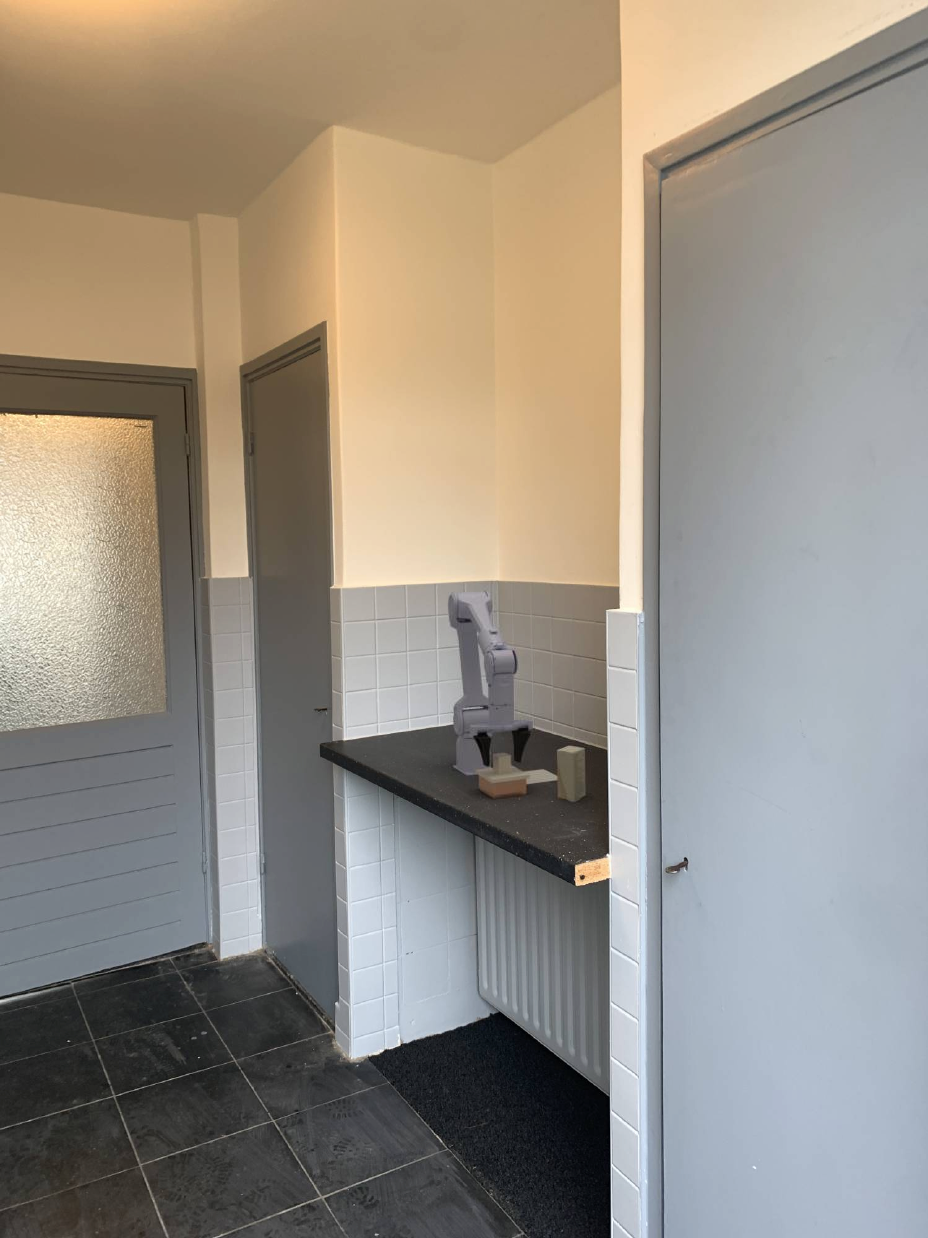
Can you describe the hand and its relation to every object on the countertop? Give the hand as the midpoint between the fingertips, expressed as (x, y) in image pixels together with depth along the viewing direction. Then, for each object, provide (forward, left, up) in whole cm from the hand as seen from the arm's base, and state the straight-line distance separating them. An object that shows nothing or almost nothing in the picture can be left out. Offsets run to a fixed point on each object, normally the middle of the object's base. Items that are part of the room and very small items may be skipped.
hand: (502, 763), depth 201 cm
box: (+10, +12, -7) cm, 17 cm away
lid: (0, 0, -3) cm, 3 cm away
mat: (-8, +12, -7) cm, 16 cm away
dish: (0, 0, -7) cm, 7 cm away
